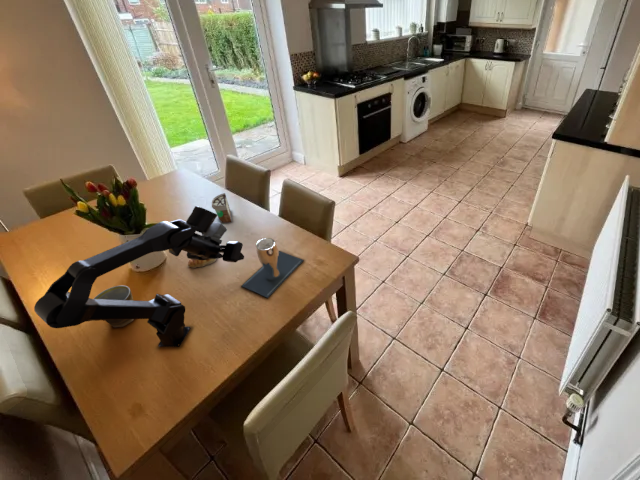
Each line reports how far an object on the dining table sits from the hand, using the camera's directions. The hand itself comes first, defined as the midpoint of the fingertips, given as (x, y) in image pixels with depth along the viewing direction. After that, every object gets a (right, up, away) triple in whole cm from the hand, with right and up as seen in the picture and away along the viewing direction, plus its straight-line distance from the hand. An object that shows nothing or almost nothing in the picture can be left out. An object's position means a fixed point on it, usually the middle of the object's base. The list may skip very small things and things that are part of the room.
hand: (232, 257), depth 107 cm
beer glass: (+11, -9, +10) cm, 17 cm away
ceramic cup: (-33, -19, -7) cm, 39 cm away
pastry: (-19, -5, +16) cm, 25 cm away
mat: (+10, -8, +11) cm, 17 cm away
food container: (-23, +10, +39) cm, 47 cm away
